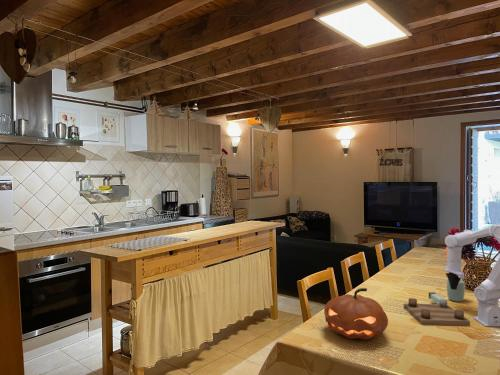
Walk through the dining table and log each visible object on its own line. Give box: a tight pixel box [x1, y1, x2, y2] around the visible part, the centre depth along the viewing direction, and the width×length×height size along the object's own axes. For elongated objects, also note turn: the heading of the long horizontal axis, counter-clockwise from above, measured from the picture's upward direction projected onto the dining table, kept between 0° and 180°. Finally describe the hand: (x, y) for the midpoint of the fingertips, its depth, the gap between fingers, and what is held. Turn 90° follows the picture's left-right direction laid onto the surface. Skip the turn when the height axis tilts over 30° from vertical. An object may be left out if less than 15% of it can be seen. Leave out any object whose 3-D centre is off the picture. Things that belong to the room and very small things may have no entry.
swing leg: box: [428, 291, 448, 307], centre depth 174 cm, size 13×3×3 cm, turn 179°
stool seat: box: [403, 297, 471, 327], centre depth 163 cm, size 20×20×5 cm
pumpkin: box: [323, 287, 389, 341], centre depth 145 cm, size 25×25×19 cm
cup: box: [446, 279, 466, 303], centre depth 184 cm, size 8×8×10 cm
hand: (453, 289), depth 172 cm, fingers closed
